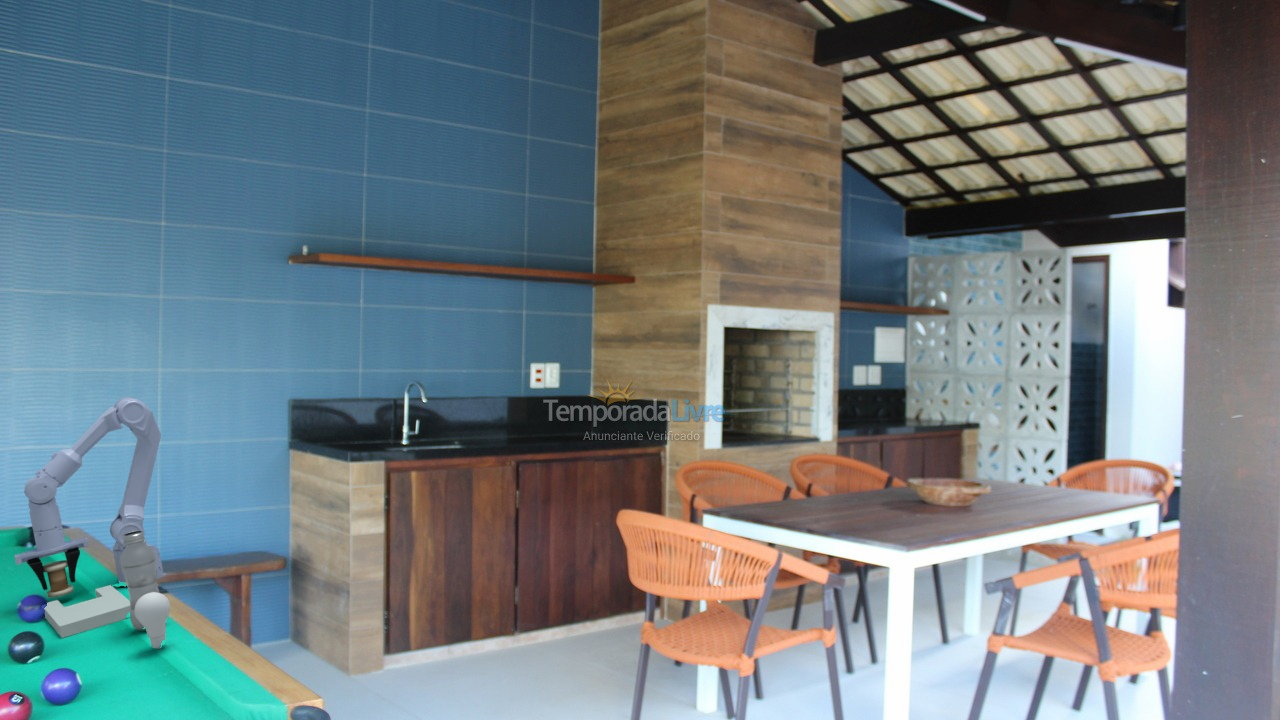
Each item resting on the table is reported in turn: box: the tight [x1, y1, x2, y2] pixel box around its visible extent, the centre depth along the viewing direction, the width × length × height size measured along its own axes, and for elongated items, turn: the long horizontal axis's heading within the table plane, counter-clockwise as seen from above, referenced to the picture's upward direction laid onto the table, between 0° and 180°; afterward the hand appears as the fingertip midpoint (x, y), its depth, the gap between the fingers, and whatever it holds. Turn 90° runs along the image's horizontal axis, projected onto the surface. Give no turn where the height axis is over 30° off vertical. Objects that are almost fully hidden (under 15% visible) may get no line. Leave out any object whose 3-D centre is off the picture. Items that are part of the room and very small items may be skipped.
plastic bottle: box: [120, 531, 160, 631], centre depth 201 cm, size 6×7×20 cm
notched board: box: [44, 584, 131, 639], centre depth 215 cm, size 22×14×2 cm, turn 40°
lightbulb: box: [134, 592, 171, 650], centre depth 189 cm, size 6×6×11 cm
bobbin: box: [43, 559, 74, 599], centre depth 227 cm, size 5×5×7 cm
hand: (59, 585), depth 227 cm, fingers closed on bobbin, 5 cm apart
